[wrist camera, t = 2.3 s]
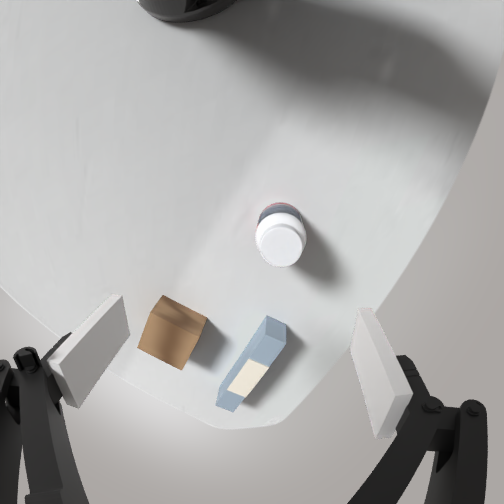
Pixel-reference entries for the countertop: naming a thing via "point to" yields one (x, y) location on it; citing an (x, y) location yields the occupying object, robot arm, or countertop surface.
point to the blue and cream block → (252, 363)
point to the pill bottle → (280, 234)
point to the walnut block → (171, 332)
